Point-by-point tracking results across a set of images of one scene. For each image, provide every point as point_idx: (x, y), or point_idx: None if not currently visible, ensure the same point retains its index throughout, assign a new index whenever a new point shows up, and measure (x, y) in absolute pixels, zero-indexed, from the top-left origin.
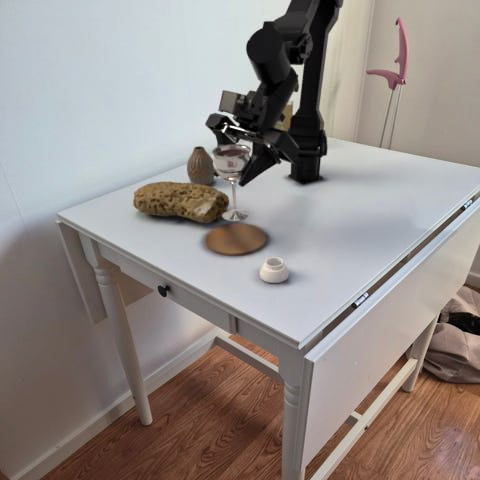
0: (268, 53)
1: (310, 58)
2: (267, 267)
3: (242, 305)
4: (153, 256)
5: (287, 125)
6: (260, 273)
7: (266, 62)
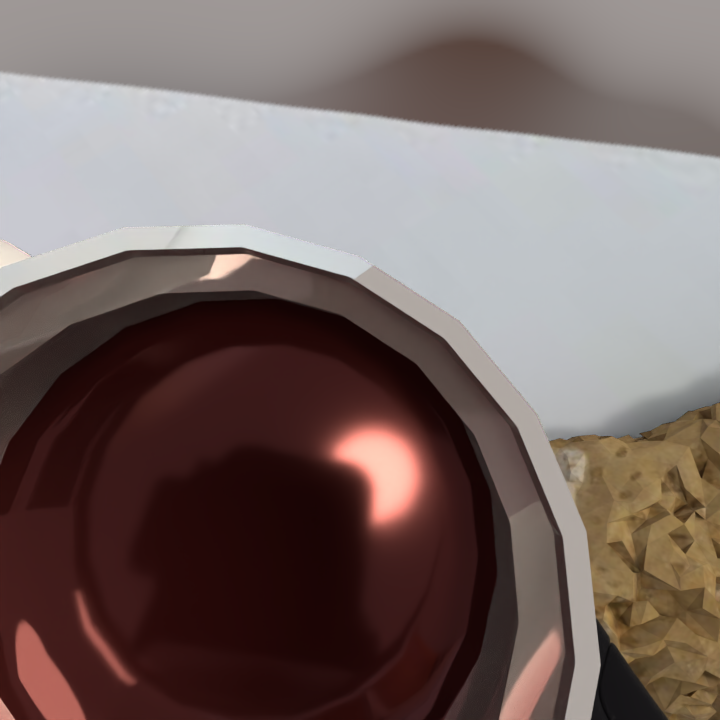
0: None
1: None
2: None
3: (3, 93)
4: (508, 163)
5: None
6: (18, 252)
7: None
